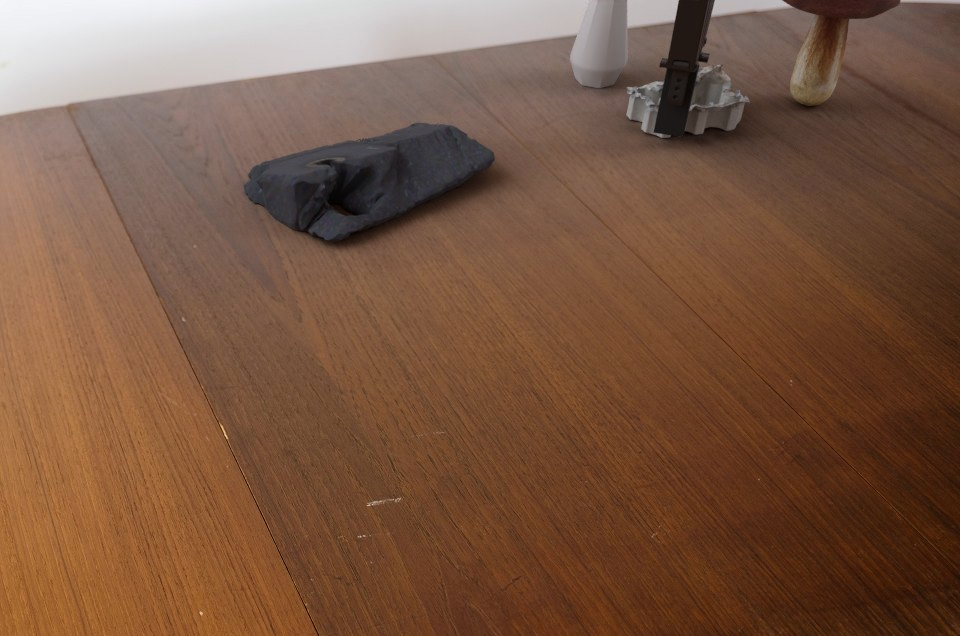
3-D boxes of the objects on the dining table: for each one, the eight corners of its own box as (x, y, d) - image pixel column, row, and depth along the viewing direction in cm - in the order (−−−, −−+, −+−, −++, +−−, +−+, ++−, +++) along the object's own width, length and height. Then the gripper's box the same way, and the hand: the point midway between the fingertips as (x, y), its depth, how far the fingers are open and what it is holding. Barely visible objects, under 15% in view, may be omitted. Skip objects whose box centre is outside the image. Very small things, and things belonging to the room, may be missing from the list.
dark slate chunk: (518, 187, 114) (525, 139, 111) (319, 255, 106) (320, 205, 102) (417, 127, 124) (420, 80, 121) (227, 184, 116) (226, 136, 112)
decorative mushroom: (804, 135, 121) (850, -23, 111) (727, 93, 128) (764, -58, 118) (889, 112, 124) (941, -43, 114) (809, 73, 131) (851, -76, 122)
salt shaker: (580, 94, 129) (601, -35, 120) (558, 72, 133) (577, -54, 125) (632, 88, 130) (657, -41, 121) (609, 66, 134) (631, -59, 125)
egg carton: (716, 101, 127) (726, 61, 124) (750, 132, 121) (761, 92, 119) (616, 109, 126) (624, 69, 123) (646, 141, 120) (654, 100, 118)
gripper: (692, -159, 109) (641, 99, 124) (668, -119, 100) (616, 153, 115) (782, -151, 107) (718, 110, 122) (766, -110, 98) (699, 167, 113)
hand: (669, 131), depth 119 cm, fingers closed
